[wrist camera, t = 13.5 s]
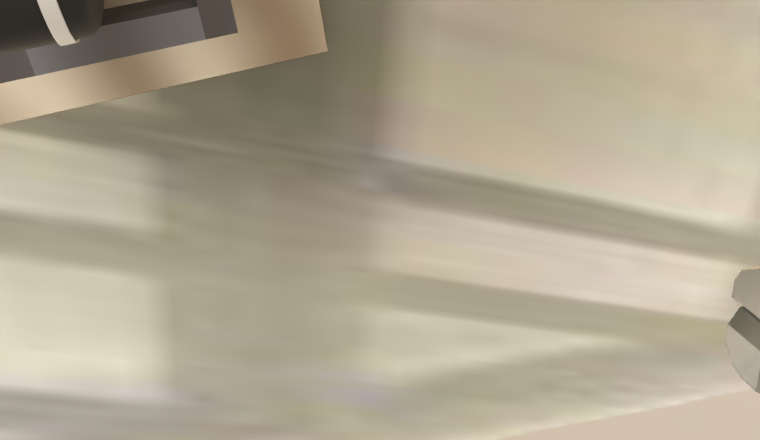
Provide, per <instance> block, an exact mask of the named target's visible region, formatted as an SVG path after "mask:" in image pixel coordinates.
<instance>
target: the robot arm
mask: <svg viewBox="0 0 760 440" xmlns="http://www.w3.org/2000/svg"><path fill="white" fill-rule="evenodd" d="M732 297H733V299H734V300H735V301H736V302H737V304H738V305H739V306H740V308H739V309H738V311H737V312H736V313H735V315H734V316H733V318H732V319H731V320H730V322H729V323H728V328H727V338H726V346H727V349H728V352H729V356H730V359H731V362H732V365H733V366H734V368H735V369H736V370H737V372H738V373H739V375H740V376H741V378H742V379H743V380H744V381H745V382H746V383H747V384H748V385H749V386H750V387H751V388H753V389H754V390H755V391H756V392H758V393H760V265H756V266H753V267H750V268H746V269H743V270H741V272H740V273H739V275H738V276H737V278H736V279H735V281H734V287H733V293H732Z"/></svg>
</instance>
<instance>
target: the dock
mask: <svg viewBox="0 0 760 440" xmlns="http://www.w3.org/2000/svg"><path fill="white" fill-rule="evenodd" d="M326 51H328V50H327V44H326V38H325V33H324V27H323V21H322V15H321V9H320V4H319V0H104V8H103V16H102V22H101V26H100V29H99V30H98V31H97V32H96V33H95V34H94V35H92V36H89V37H86V38H81V39H80V41H79V42H78V43H74V44H69V45H64V46H60V45H59V44H58V43H56V44H51V45H46V46H41V47H36V48H31V49H26V50H21V51H16V52H11V53H6V54H0V125H1V124H6V123H10V122H15V121H19V120H24V119H28V118H33V117H37V116H41V115H46V114H50V113H55V112H59V111H64V110H68V109H73V108H77V107H82V106H86V105H90V104H95V103H99V102H104V101H108V100H113V99H117V98H122V97H126V96H130V95H135V94H139V93H144V92H148V91H153V90H157V89H162V88H166V87H171V86H175V85H179V84H184V83H188V82H193V81H197V80H202V79H206V78H211V77H215V76H220V75H224V74H228V73H233V72H237V71H242V70H246V69H251V68H255V67H260V66H264V65H269V64H273V63H277V62H282V61H286V60H291V59H295V58H300V57H304V56H309V55H313V54H317V53H322V52H326Z"/></svg>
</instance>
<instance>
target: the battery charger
mask: <svg viewBox="0 0 760 440" xmlns="http://www.w3.org/2000/svg"><path fill="white" fill-rule="evenodd" d="M103 8H104V0H0V54H6V53H11V52H16V51H21V50H26V49H31V48H36V47H41V46H46V45H51V44H56V43H58V44H59V45H60V46H64V45H69V44H74V43H78V42H79V41H80V39H81V38H86V37H89V36H92V35H94V34H95V33H96V32H97V31H98V30H99V29H100V26H101V22H102V16H103Z"/></svg>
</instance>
